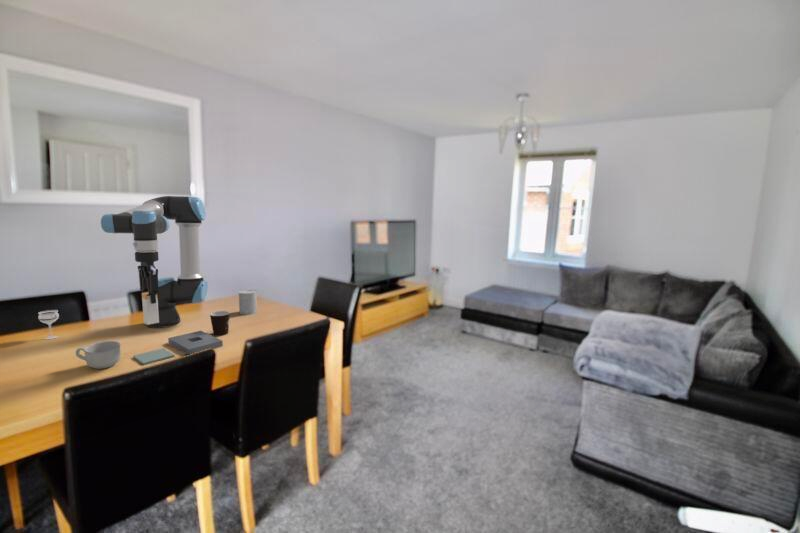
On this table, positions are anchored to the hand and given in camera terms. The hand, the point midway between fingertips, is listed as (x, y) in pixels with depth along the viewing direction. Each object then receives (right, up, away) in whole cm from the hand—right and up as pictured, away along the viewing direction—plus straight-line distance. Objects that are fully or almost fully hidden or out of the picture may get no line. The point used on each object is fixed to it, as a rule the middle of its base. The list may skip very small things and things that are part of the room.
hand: (150, 309), depth 148 cm
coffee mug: (+12, -15, +34) cm, 40 cm away
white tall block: (0, -5, +1) cm, 5 cm away
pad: (-1, -19, +3) cm, 20 cm away
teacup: (-15, -21, -6) cm, 26 cm away
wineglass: (-58, -15, +20) cm, 63 cm away
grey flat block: (+8, -17, +18) cm, 26 cm away
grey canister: (+11, -10, +69) cm, 71 cm away
